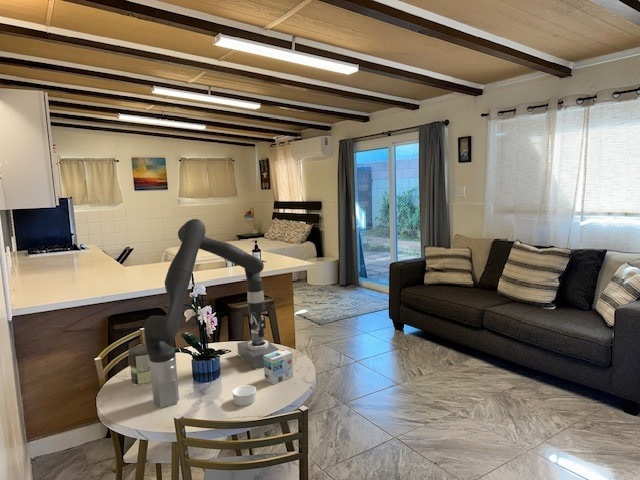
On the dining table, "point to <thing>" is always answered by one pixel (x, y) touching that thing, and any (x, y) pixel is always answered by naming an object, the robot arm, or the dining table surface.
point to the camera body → (255, 352)
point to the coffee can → (140, 366)
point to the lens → (256, 338)
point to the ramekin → (244, 395)
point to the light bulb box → (278, 366)
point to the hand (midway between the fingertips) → (257, 334)
